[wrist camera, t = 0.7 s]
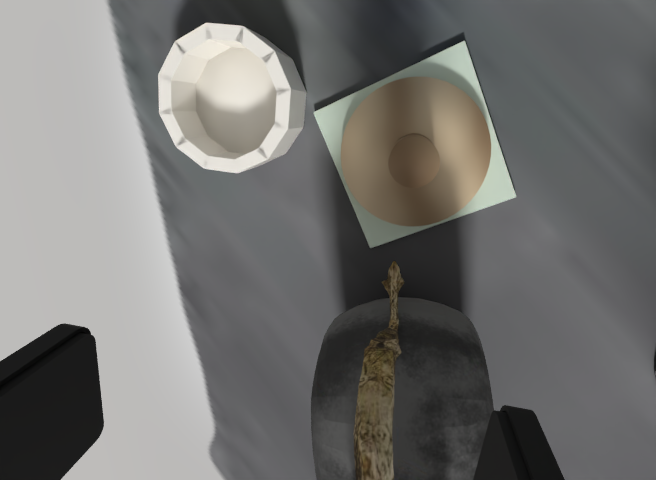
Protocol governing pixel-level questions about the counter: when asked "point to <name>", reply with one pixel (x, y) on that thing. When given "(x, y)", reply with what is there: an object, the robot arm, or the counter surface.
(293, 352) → the counter surface
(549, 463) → the robot arm
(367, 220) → the mat
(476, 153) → the lid
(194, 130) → the bowl
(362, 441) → the pitcher
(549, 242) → the counter surface
